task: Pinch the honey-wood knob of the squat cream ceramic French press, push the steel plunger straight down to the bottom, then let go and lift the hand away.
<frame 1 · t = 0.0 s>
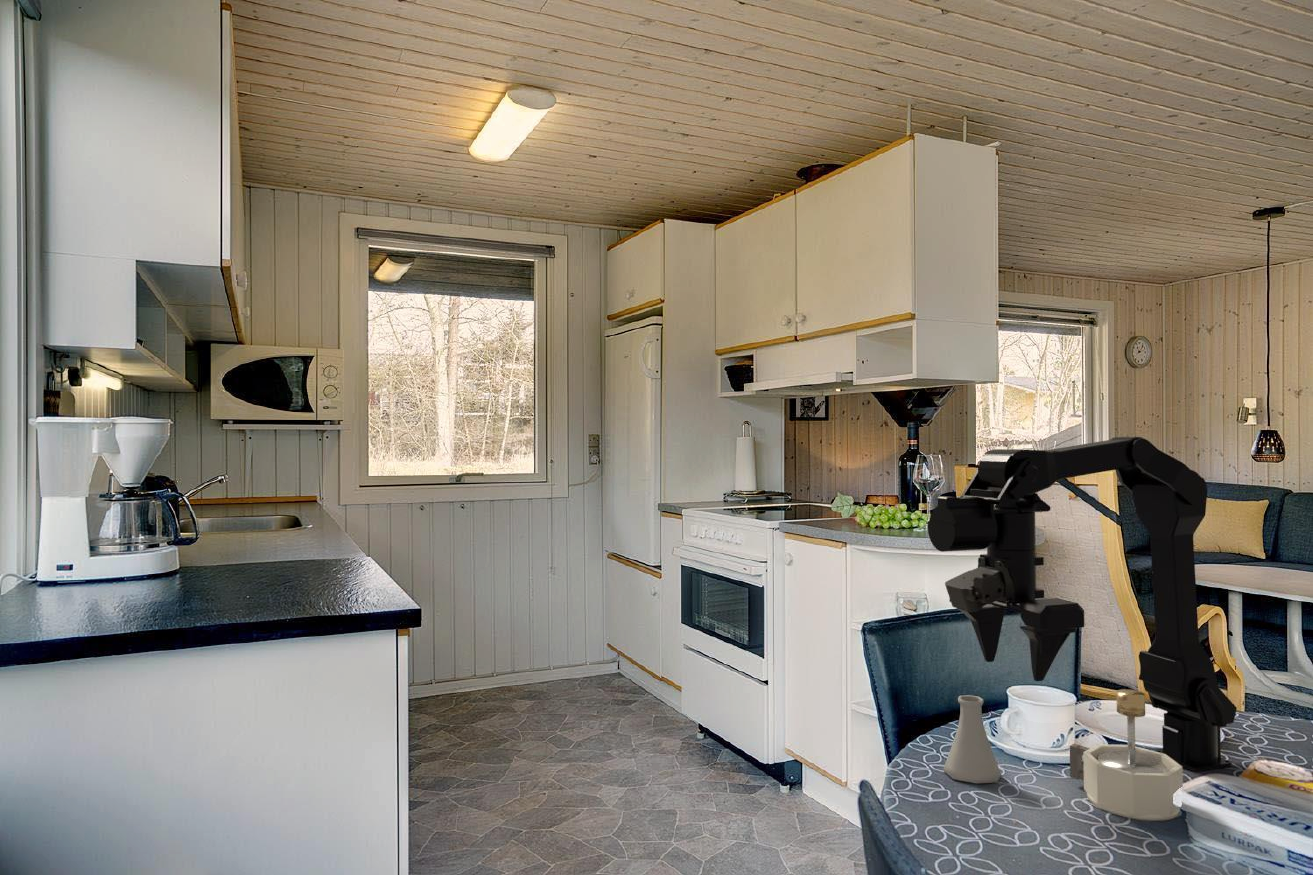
hand: (1013, 670, 106), 15 cm above the table, fingers open, 9 cm apart
plunger: (1131, 729, 101), point 9 cm above the table, slide at 0.0 cm
flask: (971, 775, 110), on the table
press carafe: (1132, 802, 101), on the table
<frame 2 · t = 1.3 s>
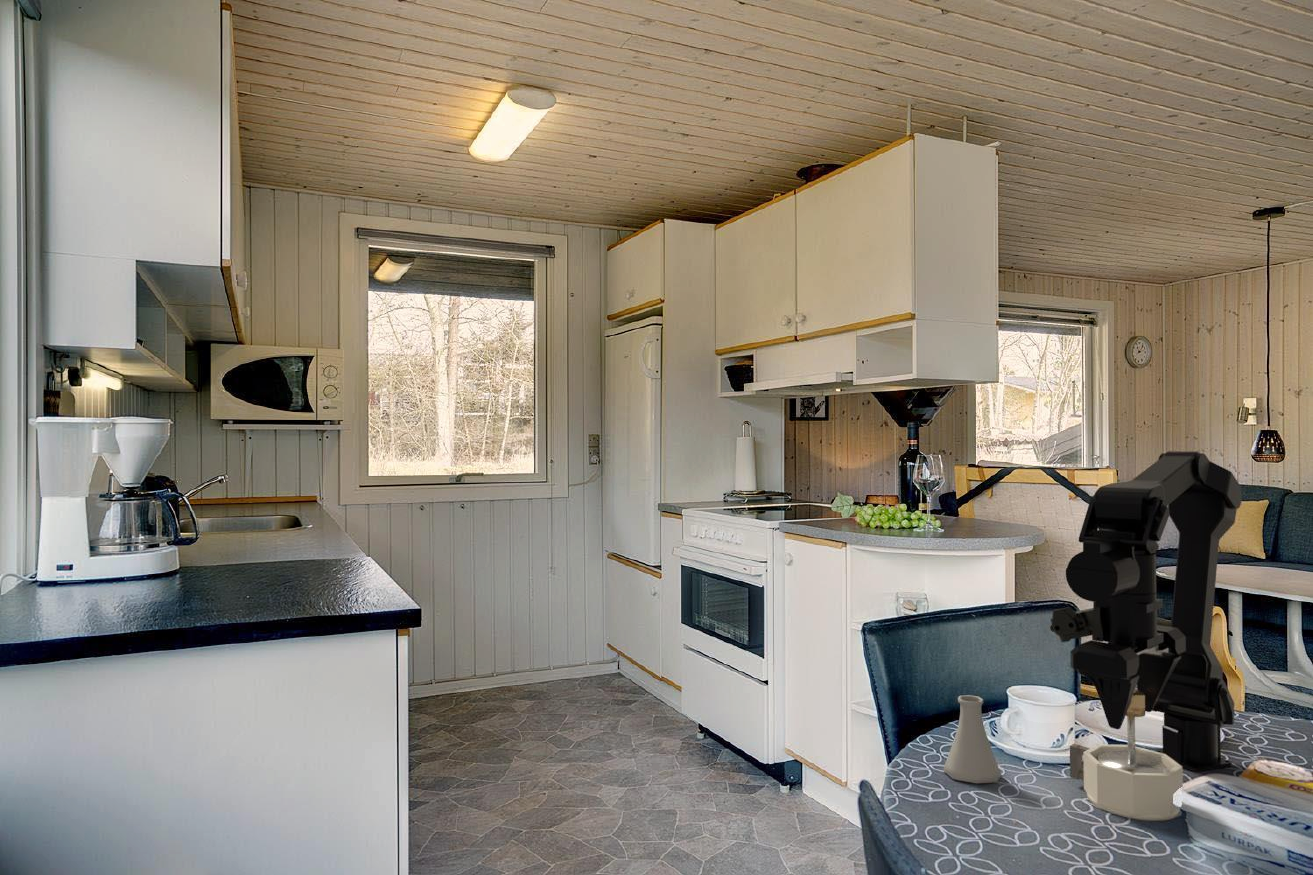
hand: (1131, 719, 101), 10 cm above the table, fingers open, 9 cm apart
nothing on the table moved.
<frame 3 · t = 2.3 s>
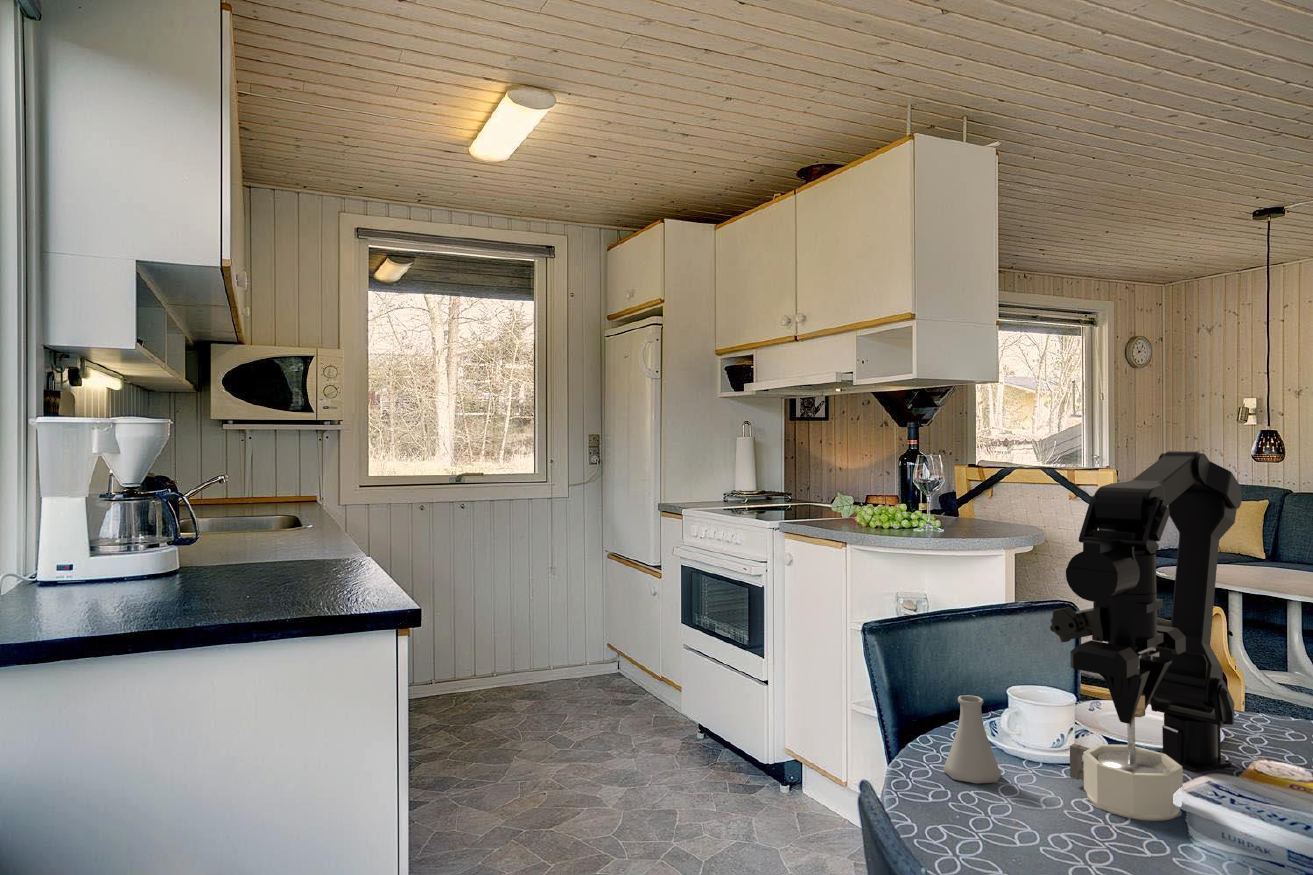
hand: (1131, 719, 101), 10 cm above the table, fingers closed on plunger, 3 cm apart
plunger: (1131, 730, 101), point 9 cm above the table, slide at 0.0 cm, touching gripper
everything else where it was.
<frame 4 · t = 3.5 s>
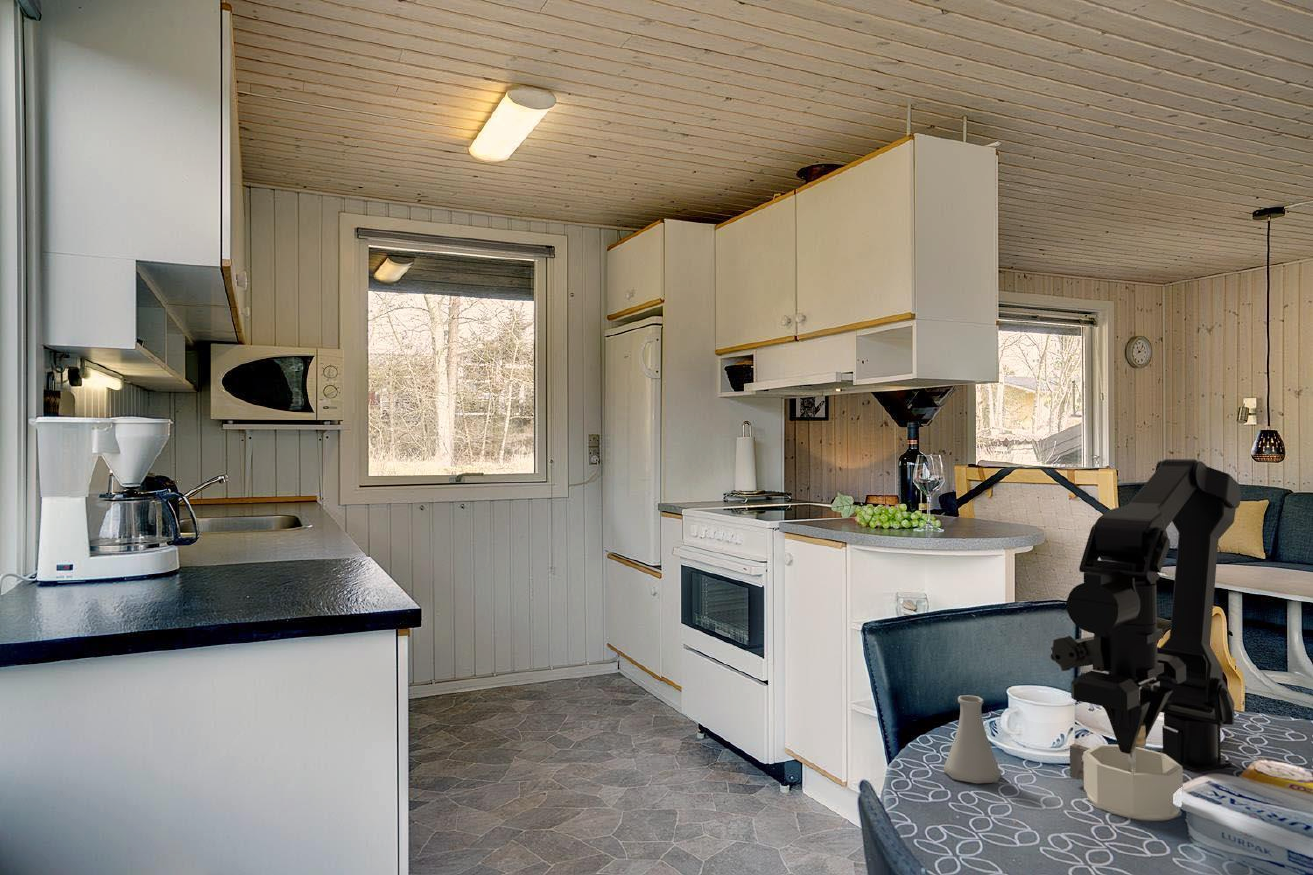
hand: (1131, 749, 101), 6 cm above the table, fingers closed on plunger, 3 cm apart
plunger: (1131, 759, 101), point 5 cm above the table, slide at 3.6 cm, touching gripper
everything else where it was.
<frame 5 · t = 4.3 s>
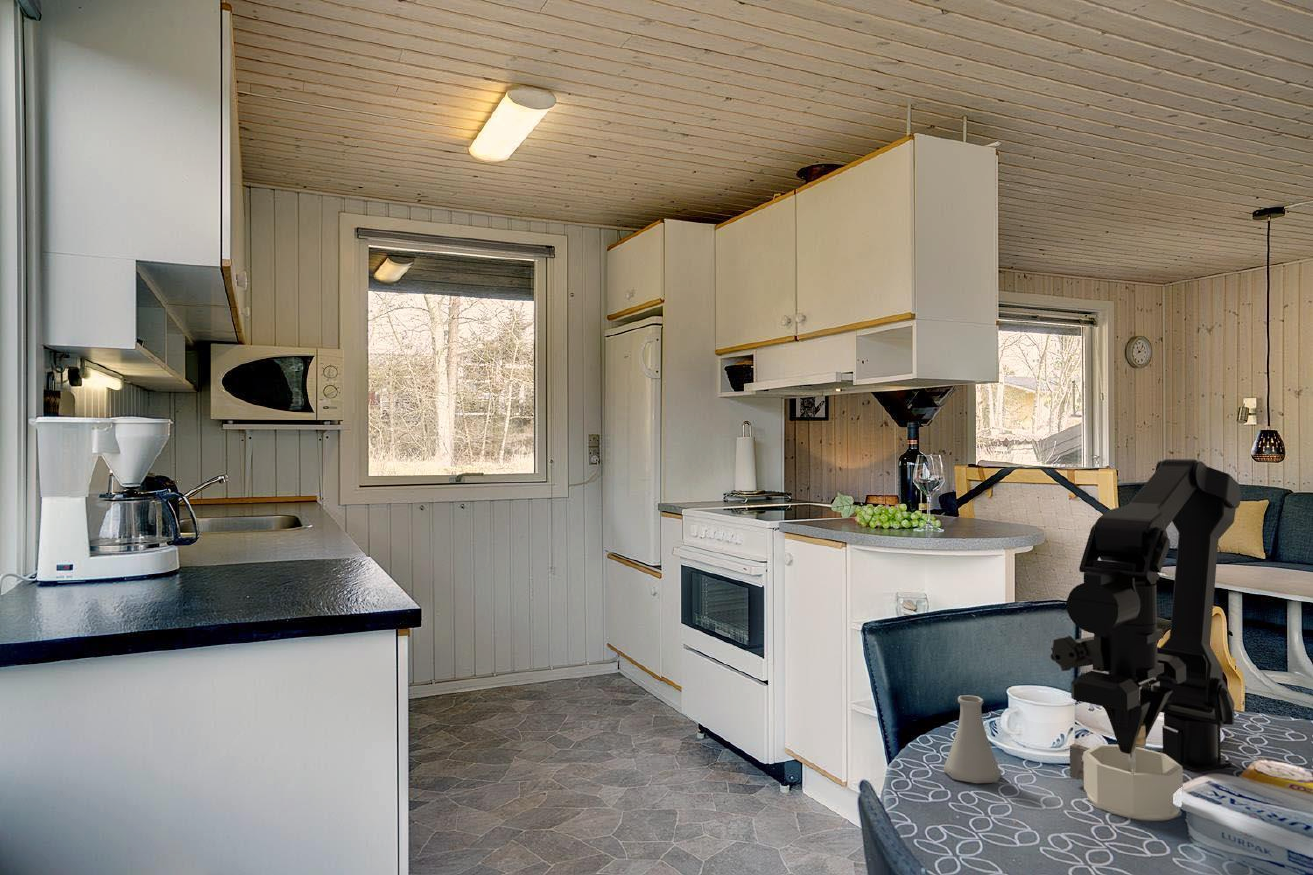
hand: (1131, 749, 101), 6 cm above the table, fingers closed on plunger, 3 cm apart
plunger: (1131, 759, 101), point 5 cm above the table, slide at 3.6 cm, touching gripper
everything else where it was.
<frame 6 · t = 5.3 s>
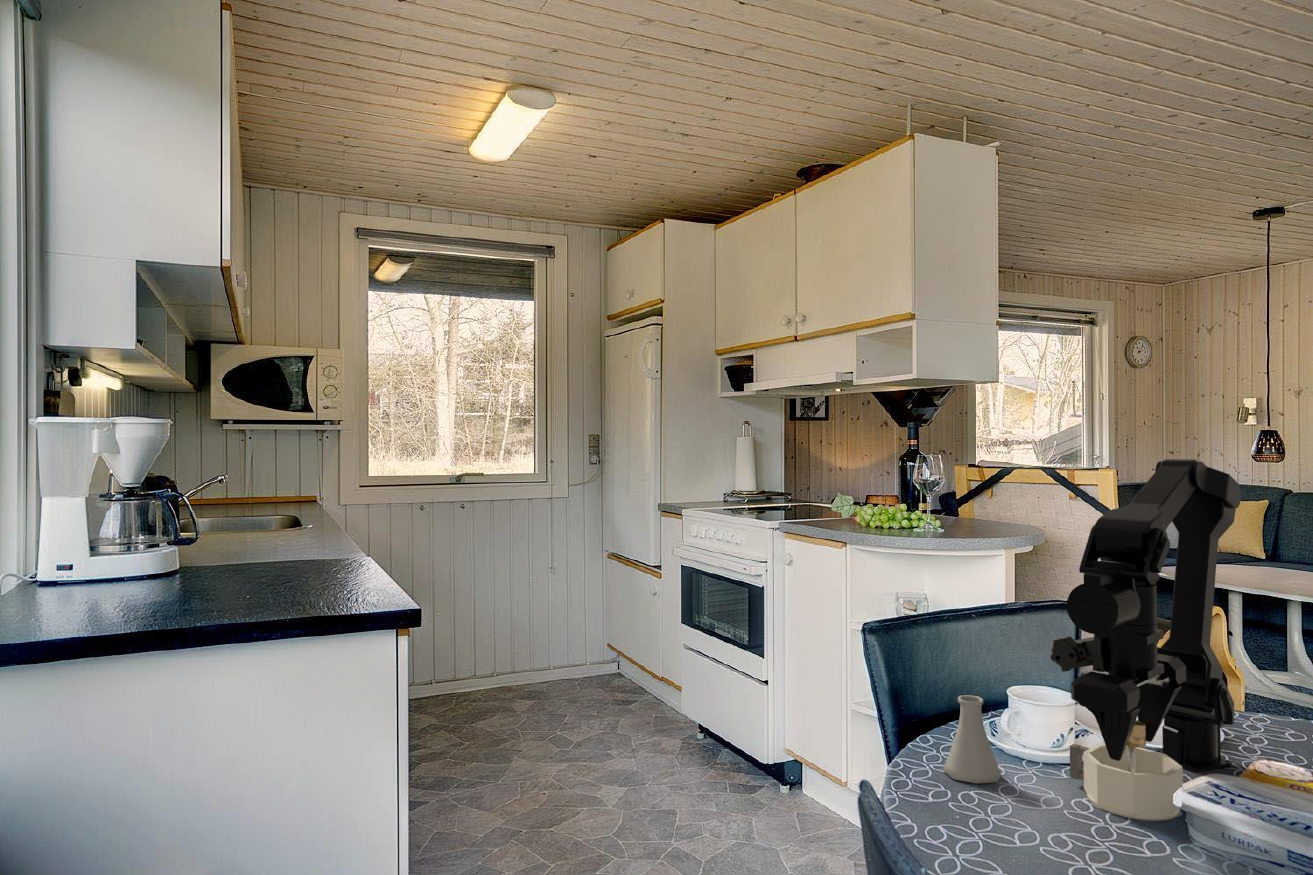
hand: (1131, 749, 101), 6 cm above the table, fingers open, 9 cm apart
plunger: (1131, 759, 101), point 5 cm above the table, slide at 3.6 cm
everything else where it was.
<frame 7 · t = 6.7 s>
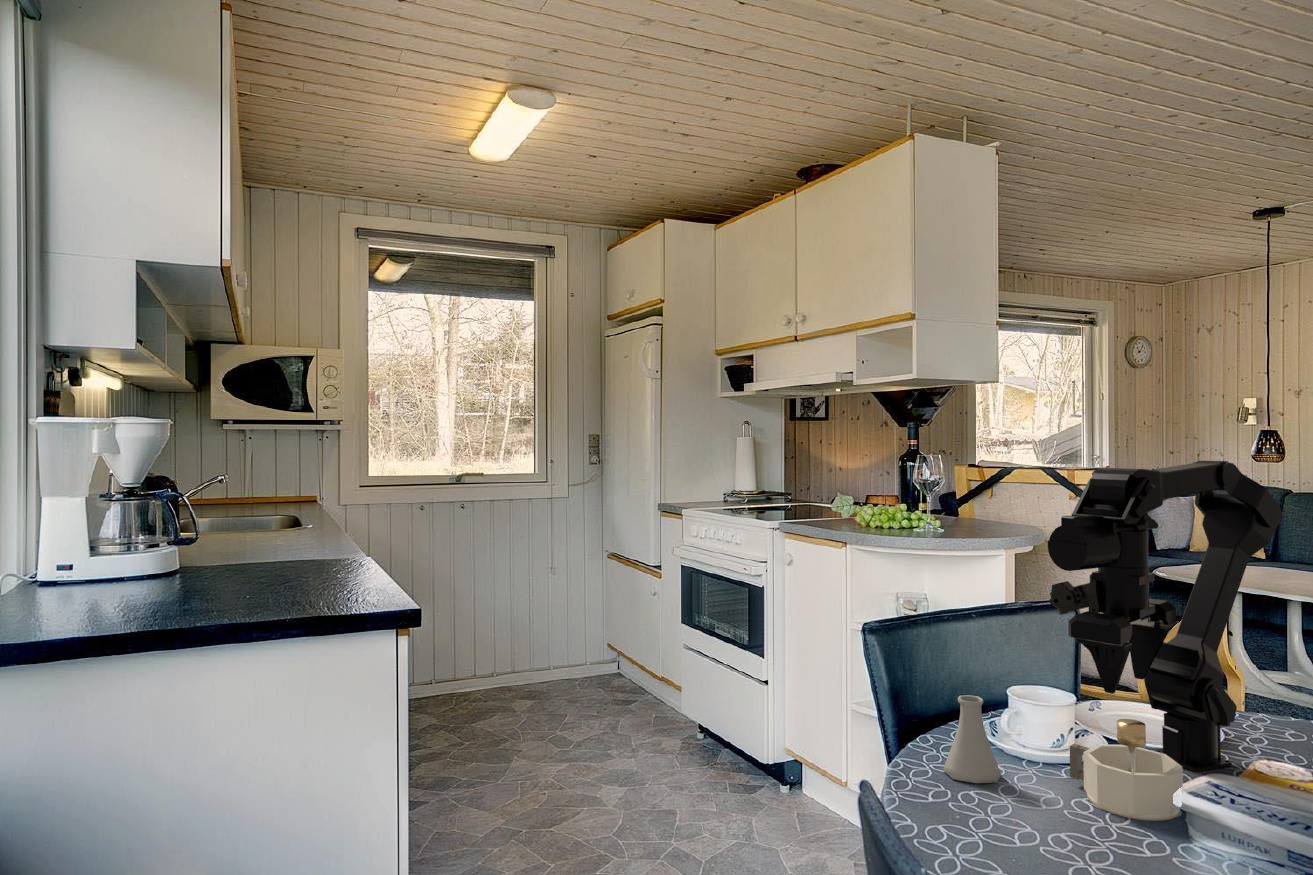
hand: (1124, 685, 108), 12 cm above the table, fingers open, 9 cm apart
nothing on the table moved.
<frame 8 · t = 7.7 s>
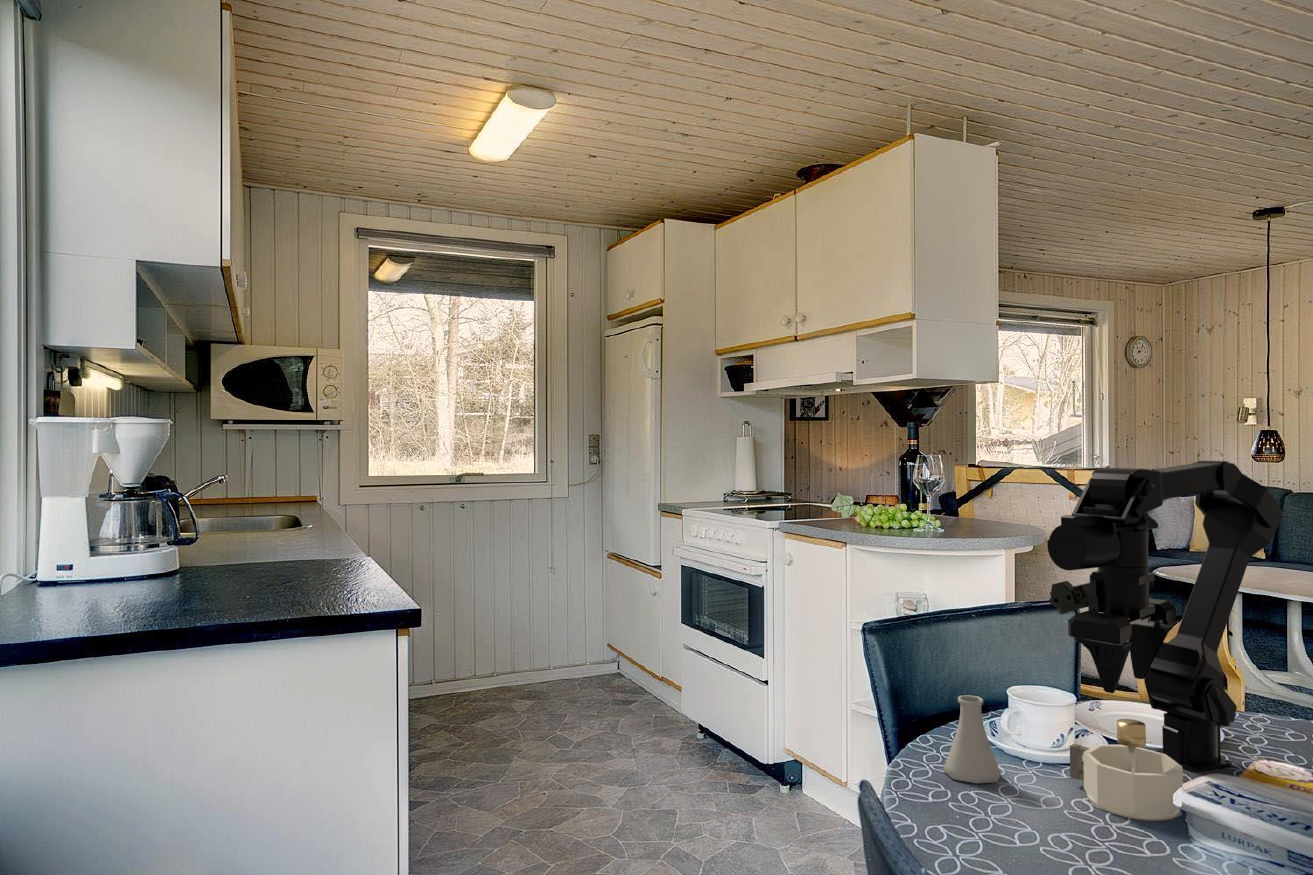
hand: (1124, 685, 108), 12 cm above the table, fingers open, 9 cm apart
nothing on the table moved.
at the end: plunger slide at 3.6 cm; the gripper is holding nothing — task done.
